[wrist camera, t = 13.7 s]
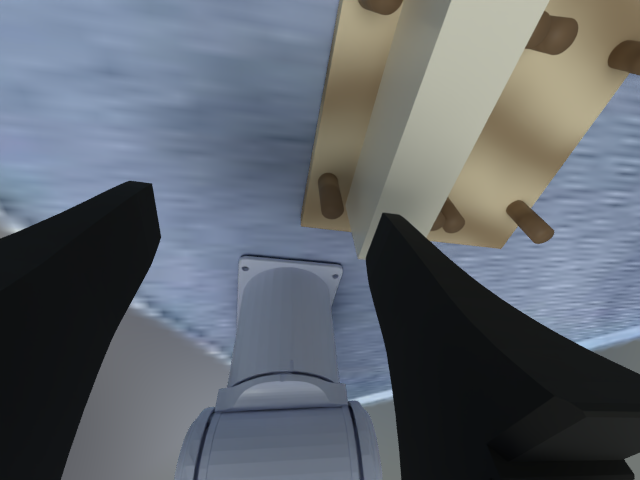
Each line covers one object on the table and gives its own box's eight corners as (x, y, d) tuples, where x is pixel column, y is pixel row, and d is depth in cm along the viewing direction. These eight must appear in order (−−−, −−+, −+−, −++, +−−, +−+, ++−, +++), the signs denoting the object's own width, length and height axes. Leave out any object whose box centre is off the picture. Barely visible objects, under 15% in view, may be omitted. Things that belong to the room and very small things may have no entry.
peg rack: (493, 238, 24) (524, 278, 21) (300, 215, 21) (301, 257, 18) (680, -33, 14) (796, -39, 11) (363, -134, 12) (390, -181, 8)
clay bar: (389, 210, 20) (412, 264, 16) (345, 205, 20) (357, 259, 16) (485, -29, 13) (568, -36, 9) (417, -48, 12) (474, -64, 8)
